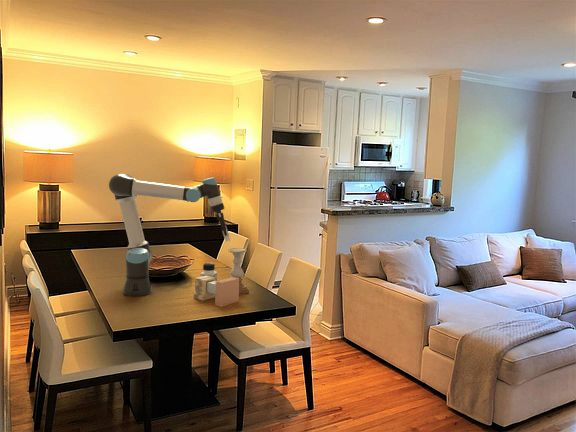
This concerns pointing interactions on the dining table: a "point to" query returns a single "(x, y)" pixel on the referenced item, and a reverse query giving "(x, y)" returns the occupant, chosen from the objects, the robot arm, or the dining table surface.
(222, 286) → the socket block
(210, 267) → the container
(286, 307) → the dining table surface
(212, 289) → the slip bar
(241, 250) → the candle holder
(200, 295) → the white blocky piece
